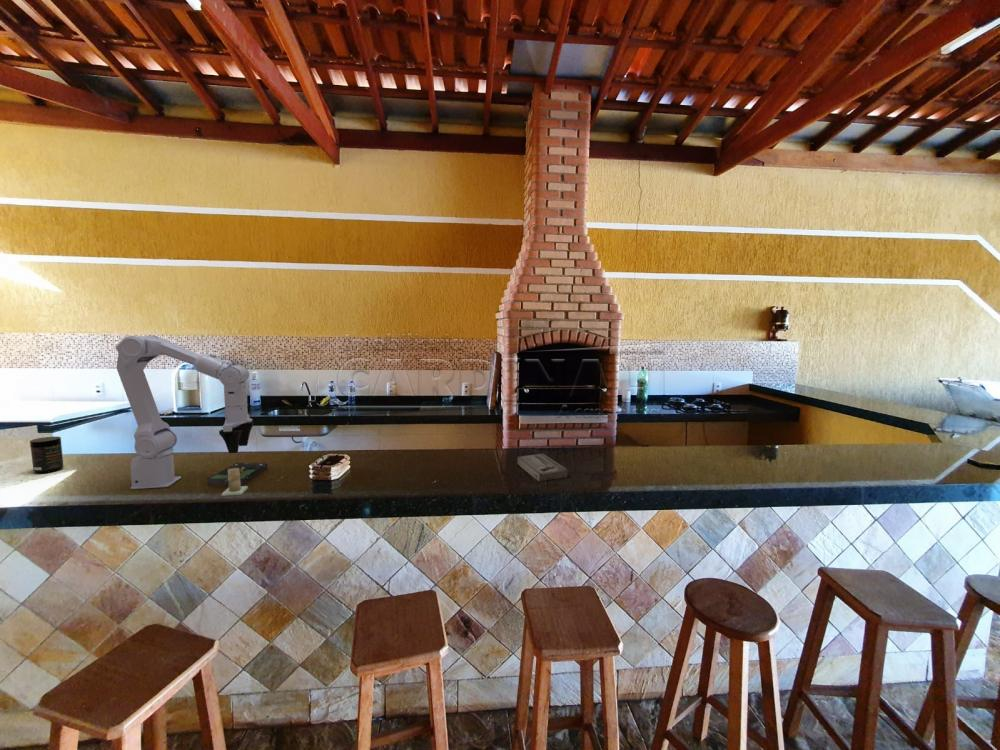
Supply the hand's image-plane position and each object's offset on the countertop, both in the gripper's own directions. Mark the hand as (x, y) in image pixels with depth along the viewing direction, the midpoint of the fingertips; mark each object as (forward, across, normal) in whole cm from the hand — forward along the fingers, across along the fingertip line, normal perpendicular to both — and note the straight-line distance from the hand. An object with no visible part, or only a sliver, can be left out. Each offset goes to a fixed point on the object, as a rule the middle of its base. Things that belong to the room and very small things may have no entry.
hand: (238, 449), depth 127 cm
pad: (+10, -10, -2) cm, 14 cm away
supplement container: (+10, +19, +62) cm, 66 cm away
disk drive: (+11, +3, +1) cm, 11 cm away
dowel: (+9, -10, -2) cm, 14 cm away
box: (+10, -7, -95) cm, 96 cm away
